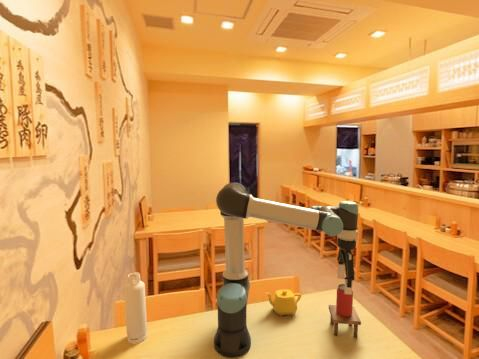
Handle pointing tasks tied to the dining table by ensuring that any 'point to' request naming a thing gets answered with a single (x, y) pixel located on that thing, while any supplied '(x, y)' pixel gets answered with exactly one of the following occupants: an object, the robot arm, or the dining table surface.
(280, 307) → the teapot
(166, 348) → the dining table surface
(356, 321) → the stool
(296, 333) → the dining table surface
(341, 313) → the beer can
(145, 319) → the bottle
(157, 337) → the dining table surface
